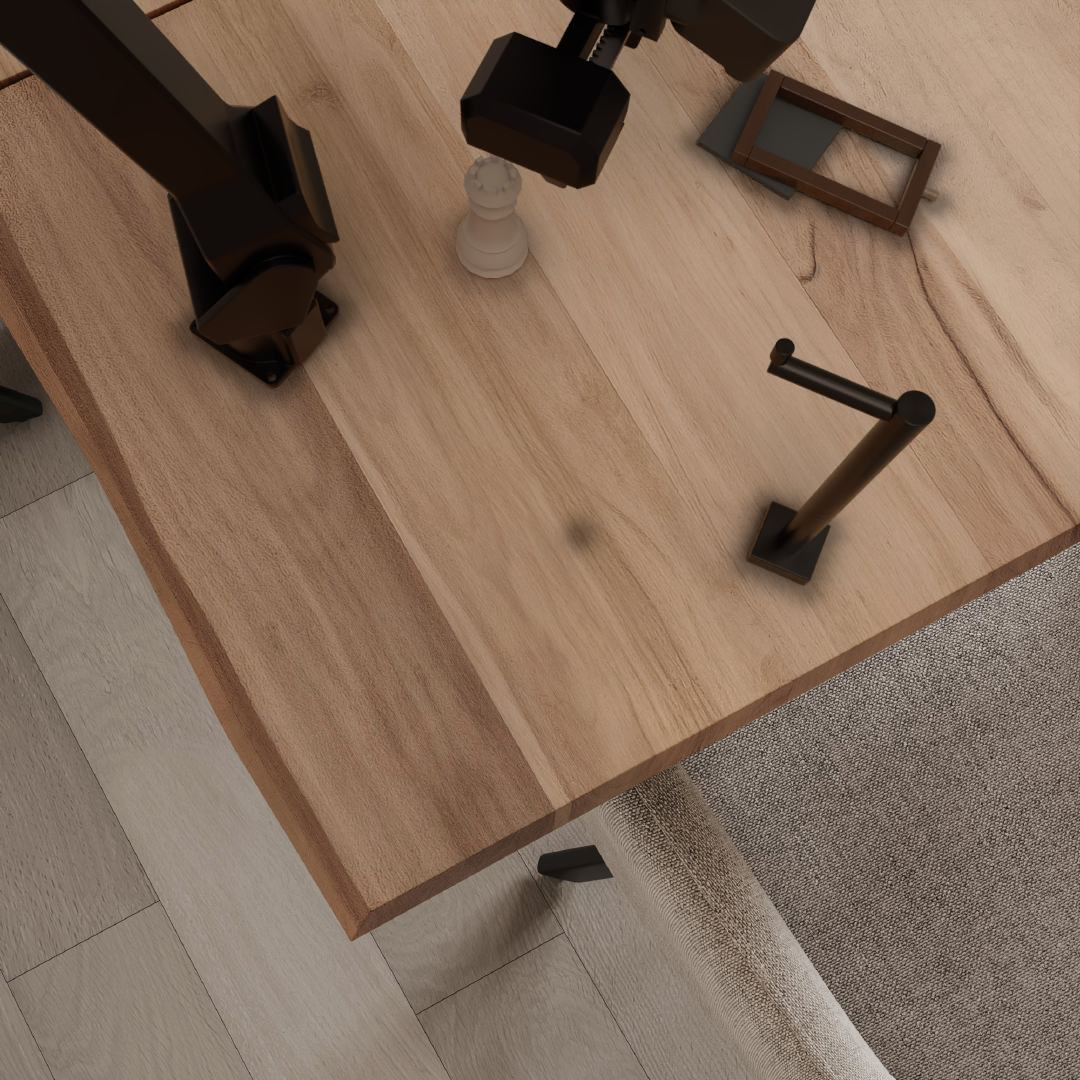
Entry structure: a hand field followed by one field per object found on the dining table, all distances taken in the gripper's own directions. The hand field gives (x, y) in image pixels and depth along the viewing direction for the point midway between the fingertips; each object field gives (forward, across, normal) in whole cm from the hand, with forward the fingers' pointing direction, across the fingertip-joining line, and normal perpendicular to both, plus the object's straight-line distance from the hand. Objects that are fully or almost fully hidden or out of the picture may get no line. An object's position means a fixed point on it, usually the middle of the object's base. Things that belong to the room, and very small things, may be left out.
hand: (593, 112), depth 55 cm
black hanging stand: (+13, -12, -17) cm, 24 cm away
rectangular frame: (+12, +13, -7) cm, 19 cm away
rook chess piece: (+13, -2, +4) cm, 14 cm away
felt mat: (+13, +13, -8) cm, 20 cm away
